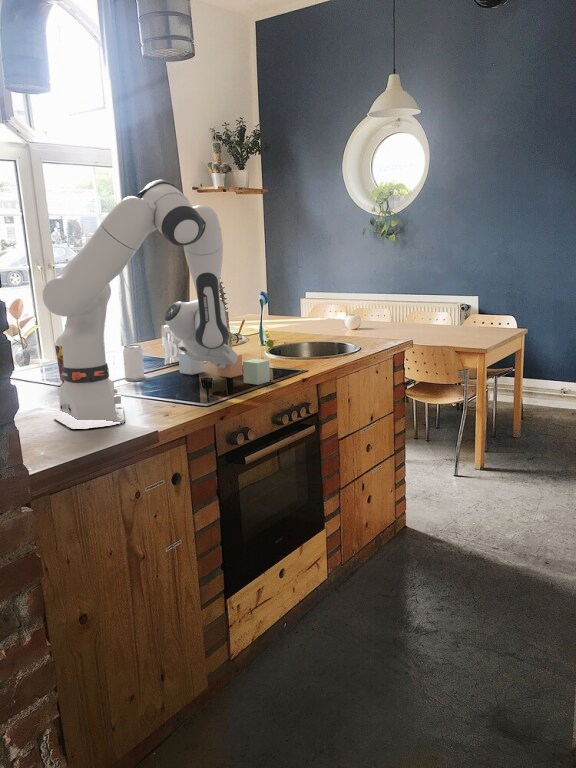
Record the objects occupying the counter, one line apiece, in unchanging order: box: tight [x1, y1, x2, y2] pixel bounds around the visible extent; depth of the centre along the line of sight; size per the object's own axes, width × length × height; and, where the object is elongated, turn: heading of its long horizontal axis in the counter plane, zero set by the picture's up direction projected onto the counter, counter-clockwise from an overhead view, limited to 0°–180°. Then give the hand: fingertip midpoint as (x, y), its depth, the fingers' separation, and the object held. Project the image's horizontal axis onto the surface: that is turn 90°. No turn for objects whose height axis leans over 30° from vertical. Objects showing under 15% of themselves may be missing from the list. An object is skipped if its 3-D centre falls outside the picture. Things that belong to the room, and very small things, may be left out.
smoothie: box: [54, 323, 66, 384], centre depth 224 cm, size 8×8×20 cm
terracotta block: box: [216, 353, 244, 378], centre depth 226 cm, size 6×6×7 cm
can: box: [122, 344, 145, 383], centre depth 227 cm, size 6×6×12 cm
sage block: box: [242, 358, 271, 385], centre depth 214 cm, size 6×6×7 cm
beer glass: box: [161, 324, 181, 365], centre depth 255 cm, size 7×7×15 cm
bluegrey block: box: [178, 351, 205, 376], centre depth 232 cm, size 6×6×7 cm
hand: (222, 366), depth 223 cm, fingers closed
